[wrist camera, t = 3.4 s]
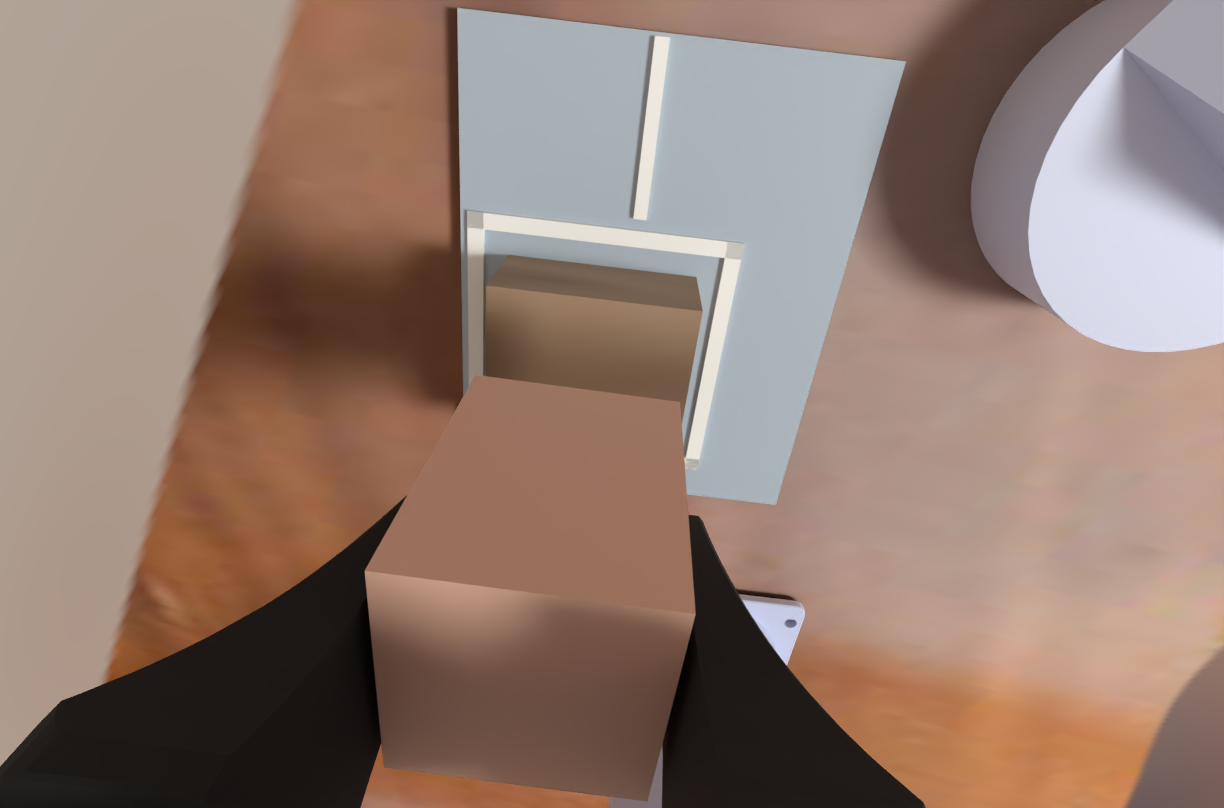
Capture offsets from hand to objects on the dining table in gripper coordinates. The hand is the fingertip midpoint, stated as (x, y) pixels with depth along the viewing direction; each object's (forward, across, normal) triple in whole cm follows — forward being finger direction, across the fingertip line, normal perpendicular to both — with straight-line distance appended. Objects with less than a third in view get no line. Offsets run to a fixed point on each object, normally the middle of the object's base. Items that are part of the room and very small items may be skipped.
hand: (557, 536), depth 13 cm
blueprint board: (+10, -2, -2) cm, 10 cm away
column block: (+2, 0, 0) cm, 2 cm away
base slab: (+9, 0, 0) cm, 9 cm away
